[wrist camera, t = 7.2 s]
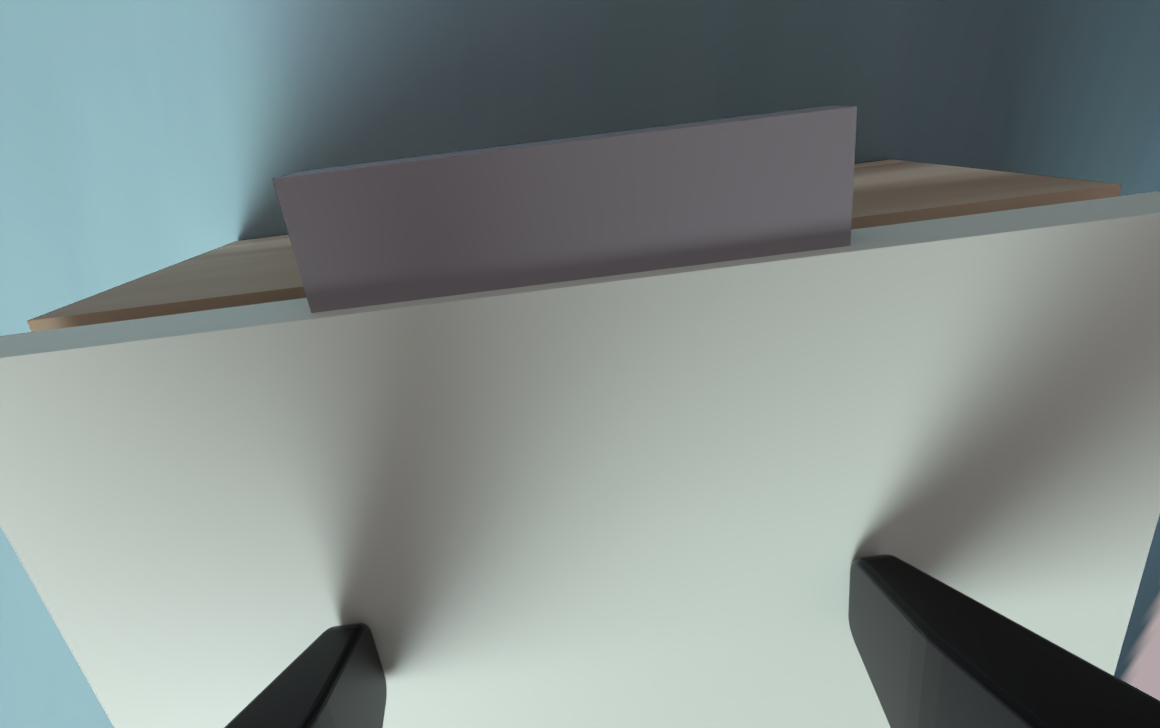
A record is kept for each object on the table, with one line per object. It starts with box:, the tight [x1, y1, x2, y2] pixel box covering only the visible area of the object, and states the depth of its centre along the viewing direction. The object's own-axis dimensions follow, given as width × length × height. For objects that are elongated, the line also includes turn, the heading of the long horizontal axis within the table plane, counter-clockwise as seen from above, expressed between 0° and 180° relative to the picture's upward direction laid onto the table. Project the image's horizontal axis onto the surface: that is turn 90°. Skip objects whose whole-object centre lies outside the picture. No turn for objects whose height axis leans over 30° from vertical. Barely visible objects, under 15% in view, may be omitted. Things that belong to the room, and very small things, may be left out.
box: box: [27, 159, 1121, 332], centre depth 12 cm, size 14×12×5 cm
